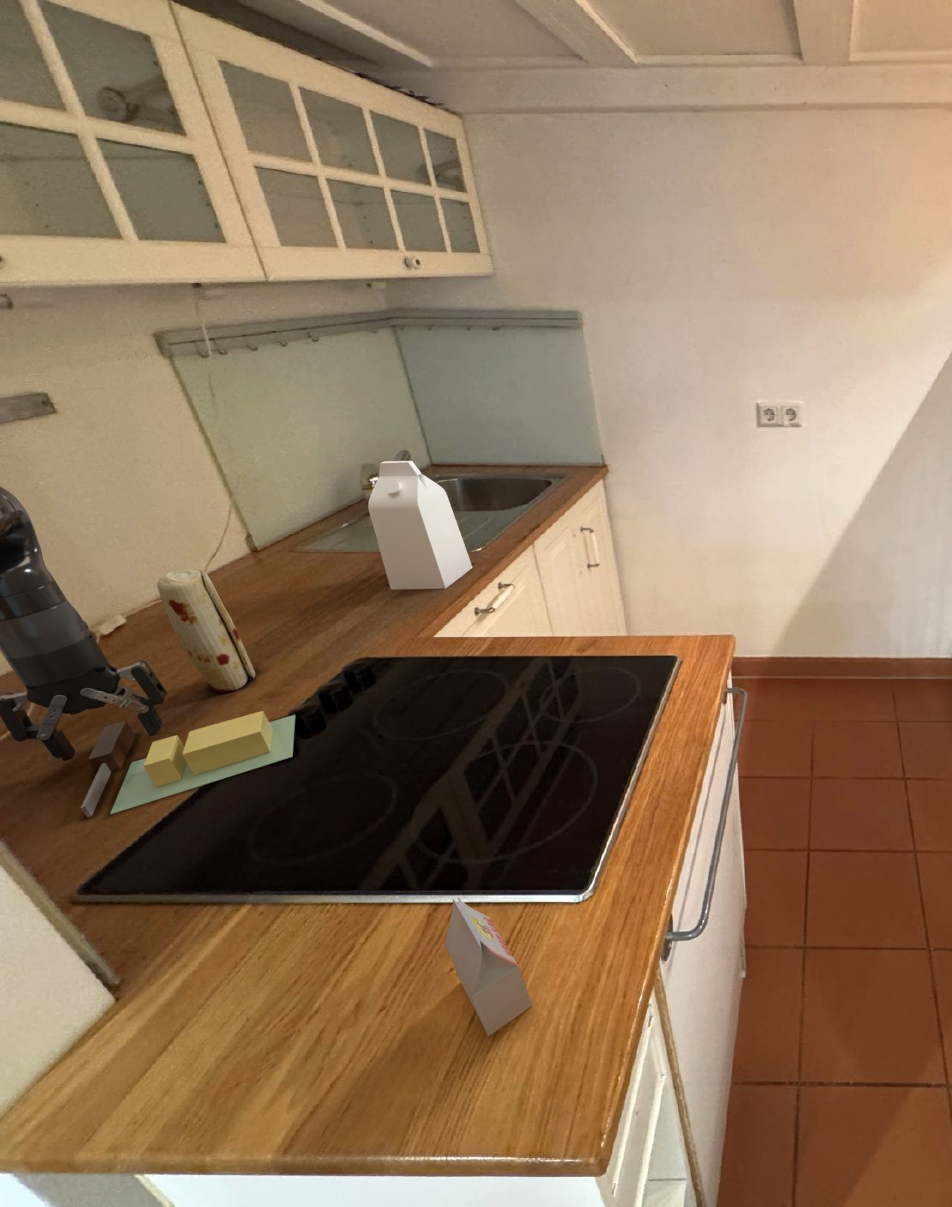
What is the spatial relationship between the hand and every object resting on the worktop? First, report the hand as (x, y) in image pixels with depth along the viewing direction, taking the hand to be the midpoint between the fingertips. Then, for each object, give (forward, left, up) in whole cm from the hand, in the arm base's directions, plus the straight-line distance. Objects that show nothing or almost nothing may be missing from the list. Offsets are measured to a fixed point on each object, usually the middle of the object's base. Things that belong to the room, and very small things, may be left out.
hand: (114, 744), depth 89 cm
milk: (+43, +45, -3) cm, 62 cm away
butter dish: (+11, -9, -3) cm, 14 cm away
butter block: (+13, -9, -2) cm, 16 cm away
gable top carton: (+36, -67, -3) cm, 76 cm away
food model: (+11, +16, -3) cm, 19 cm away
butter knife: (0, -5, -3) cm, 5 cm away
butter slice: (+7, -9, -2) cm, 12 cm away
